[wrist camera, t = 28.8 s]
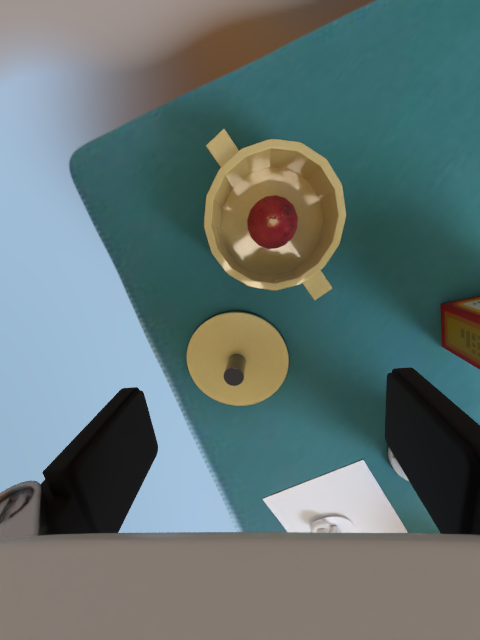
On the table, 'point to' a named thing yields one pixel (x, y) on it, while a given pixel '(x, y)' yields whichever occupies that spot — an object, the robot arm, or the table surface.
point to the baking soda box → (462, 329)
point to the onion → (272, 222)
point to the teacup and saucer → (337, 504)
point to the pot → (268, 180)
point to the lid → (237, 358)
